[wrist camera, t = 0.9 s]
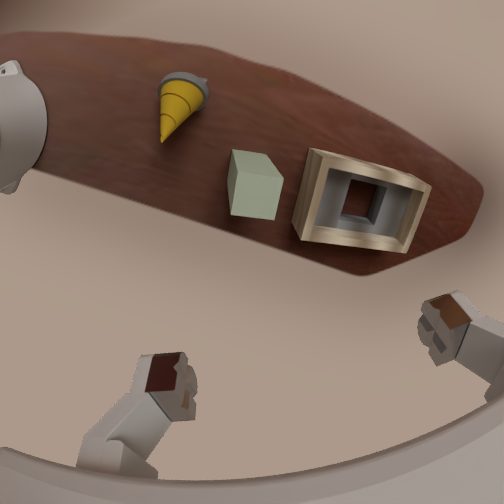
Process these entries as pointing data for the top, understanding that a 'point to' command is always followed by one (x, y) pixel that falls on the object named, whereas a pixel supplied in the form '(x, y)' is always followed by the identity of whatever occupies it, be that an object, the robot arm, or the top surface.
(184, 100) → the drill bit
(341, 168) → the box
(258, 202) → the peg
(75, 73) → the top surface
